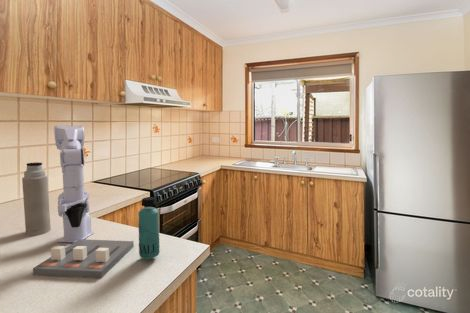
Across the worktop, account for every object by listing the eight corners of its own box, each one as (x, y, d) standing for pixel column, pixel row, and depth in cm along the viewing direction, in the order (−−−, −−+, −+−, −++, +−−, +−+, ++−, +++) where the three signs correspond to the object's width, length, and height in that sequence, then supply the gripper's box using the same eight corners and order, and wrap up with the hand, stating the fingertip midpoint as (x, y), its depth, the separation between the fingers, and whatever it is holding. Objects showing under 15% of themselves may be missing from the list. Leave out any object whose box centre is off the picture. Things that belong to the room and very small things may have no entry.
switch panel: (79, 244, 94) (78, 229, 93) (133, 246, 93) (133, 231, 92) (33, 275, 74) (32, 256, 74) (101, 278, 73) (100, 259, 72)
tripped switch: (77, 256, 80) (77, 245, 80) (87, 257, 80) (86, 246, 80) (73, 259, 78) (72, 248, 78) (83, 260, 78) (82, 249, 78)
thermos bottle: (20, 235, 101) (15, 164, 98) (34, 228, 109) (29, 161, 106) (43, 235, 102) (38, 164, 99) (54, 227, 110) (50, 161, 107)
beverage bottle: (154, 252, 89) (152, 194, 87) (164, 259, 84) (163, 198, 82) (135, 258, 84) (133, 197, 82) (144, 266, 80) (143, 201, 78)
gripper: (73, 181, 92) (75, 219, 93) (46, 191, 77) (48, 235, 78) (94, 181, 92) (95, 219, 93) (70, 191, 78) (73, 235, 79)
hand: (75, 226), depth 86 cm, fingers closed
